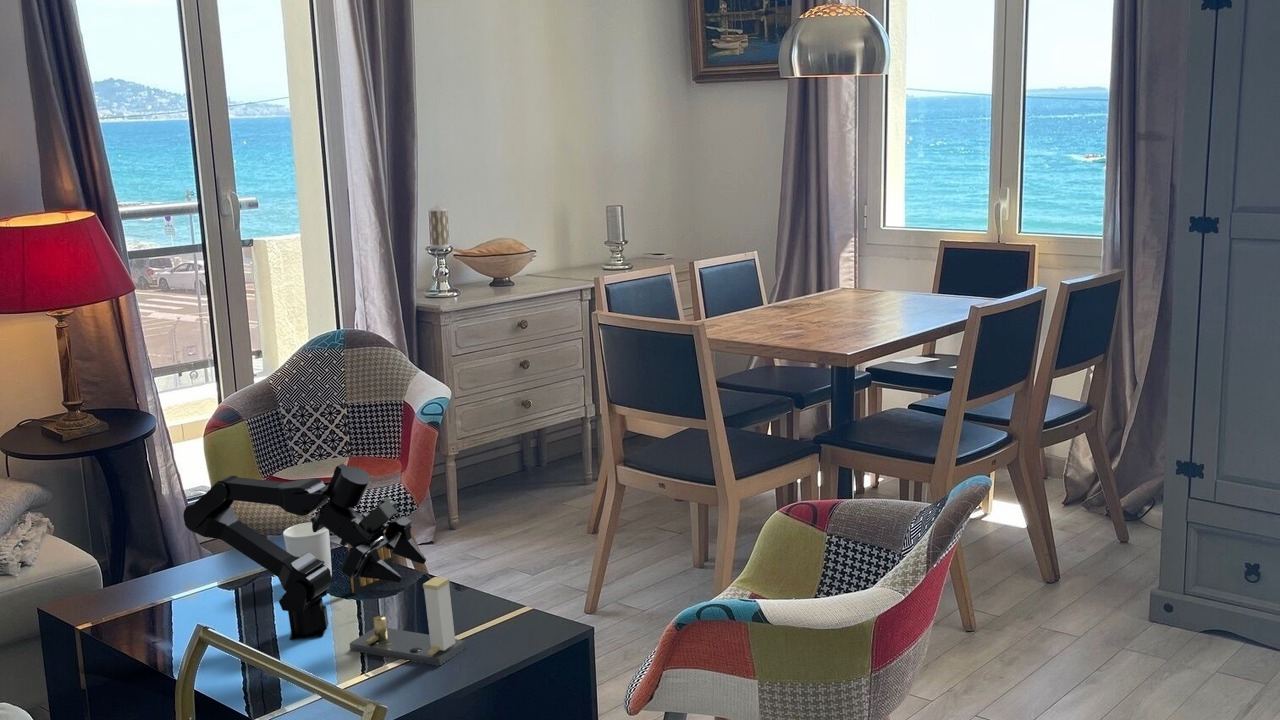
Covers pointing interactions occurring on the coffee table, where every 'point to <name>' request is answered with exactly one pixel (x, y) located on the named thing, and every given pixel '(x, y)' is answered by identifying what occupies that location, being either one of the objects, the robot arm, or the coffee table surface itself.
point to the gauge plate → (402, 644)
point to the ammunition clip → (367, 583)
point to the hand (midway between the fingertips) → (413, 570)
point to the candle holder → (308, 542)
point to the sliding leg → (439, 614)
